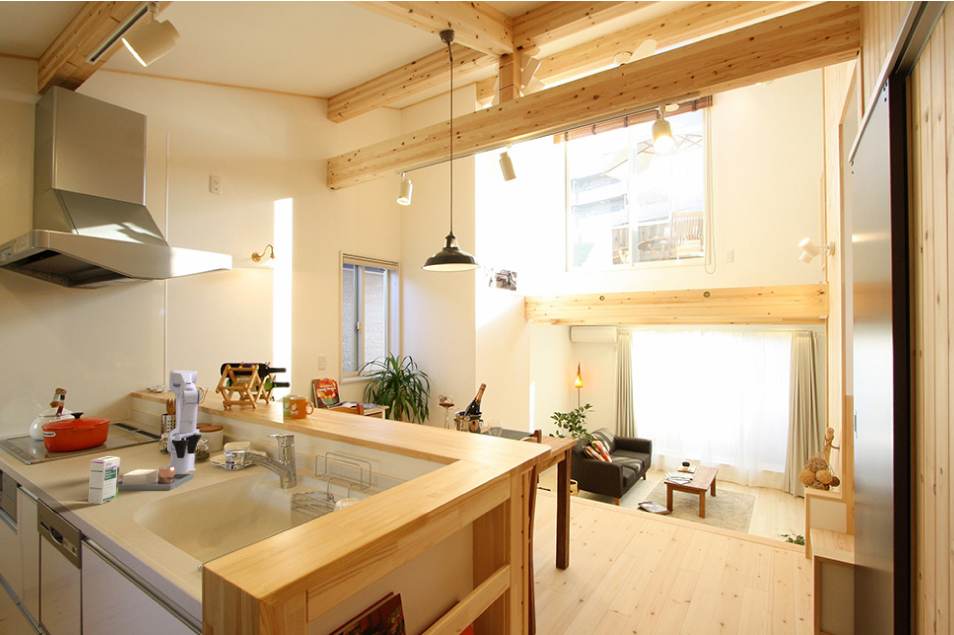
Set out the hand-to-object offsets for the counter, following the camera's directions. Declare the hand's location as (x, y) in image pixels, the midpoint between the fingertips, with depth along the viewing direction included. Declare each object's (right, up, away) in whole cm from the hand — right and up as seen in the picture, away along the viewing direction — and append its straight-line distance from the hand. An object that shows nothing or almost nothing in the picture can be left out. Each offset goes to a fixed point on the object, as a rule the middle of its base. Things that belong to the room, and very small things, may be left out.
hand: (185, 455), depth 184 cm
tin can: (-3, -9, -7) cm, 11 cm away
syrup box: (-12, -8, -26) cm, 30 cm away
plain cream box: (-12, -8, -8) cm, 17 cm away
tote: (-8, -9, -7) cm, 14 cm away
